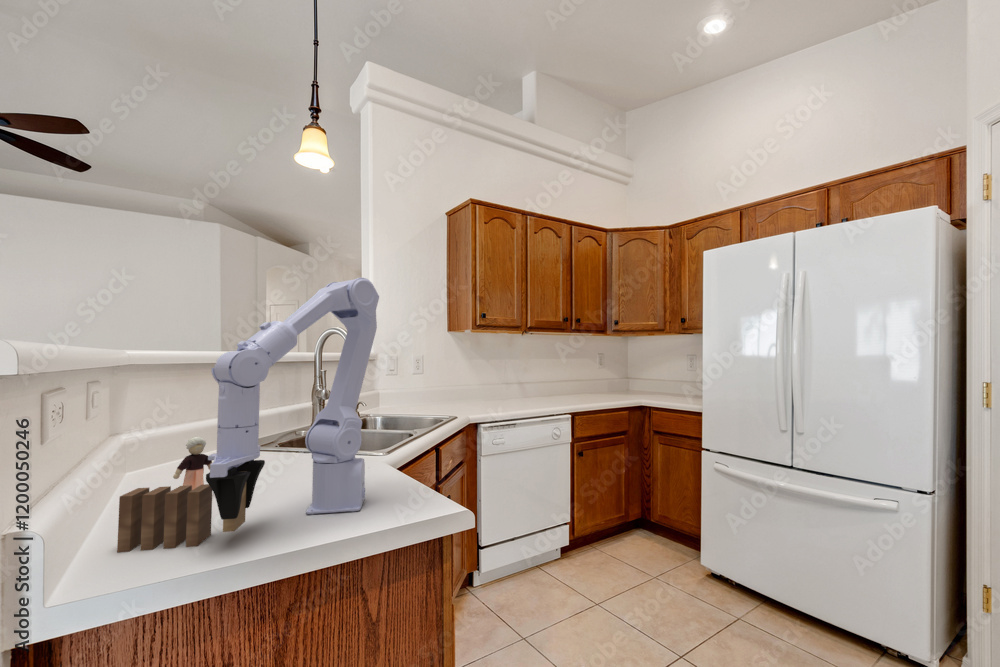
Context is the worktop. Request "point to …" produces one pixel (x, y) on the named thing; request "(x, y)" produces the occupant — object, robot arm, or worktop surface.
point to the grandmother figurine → (194, 463)
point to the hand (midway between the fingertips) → (235, 512)
